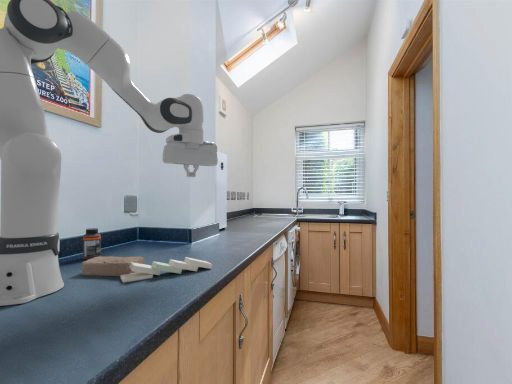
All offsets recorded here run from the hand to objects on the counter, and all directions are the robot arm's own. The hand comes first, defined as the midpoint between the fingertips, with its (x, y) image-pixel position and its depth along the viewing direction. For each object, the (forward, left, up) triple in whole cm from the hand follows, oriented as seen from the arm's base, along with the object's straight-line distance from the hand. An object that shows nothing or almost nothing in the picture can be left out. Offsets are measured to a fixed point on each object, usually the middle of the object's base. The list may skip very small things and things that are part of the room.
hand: (191, 177), depth 101 cm
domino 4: (+2, -12, -30) cm, 33 cm away
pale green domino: (-8, -12, -30) cm, 34 cm away
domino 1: (-14, -11, -30) cm, 35 cm away
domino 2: (-16, -12, -31) cm, 37 cm away
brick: (-26, -2, -32) cm, 41 cm away
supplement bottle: (-31, +24, -31) cm, 50 cm away
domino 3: (-3, -12, -30) cm, 33 cm away
